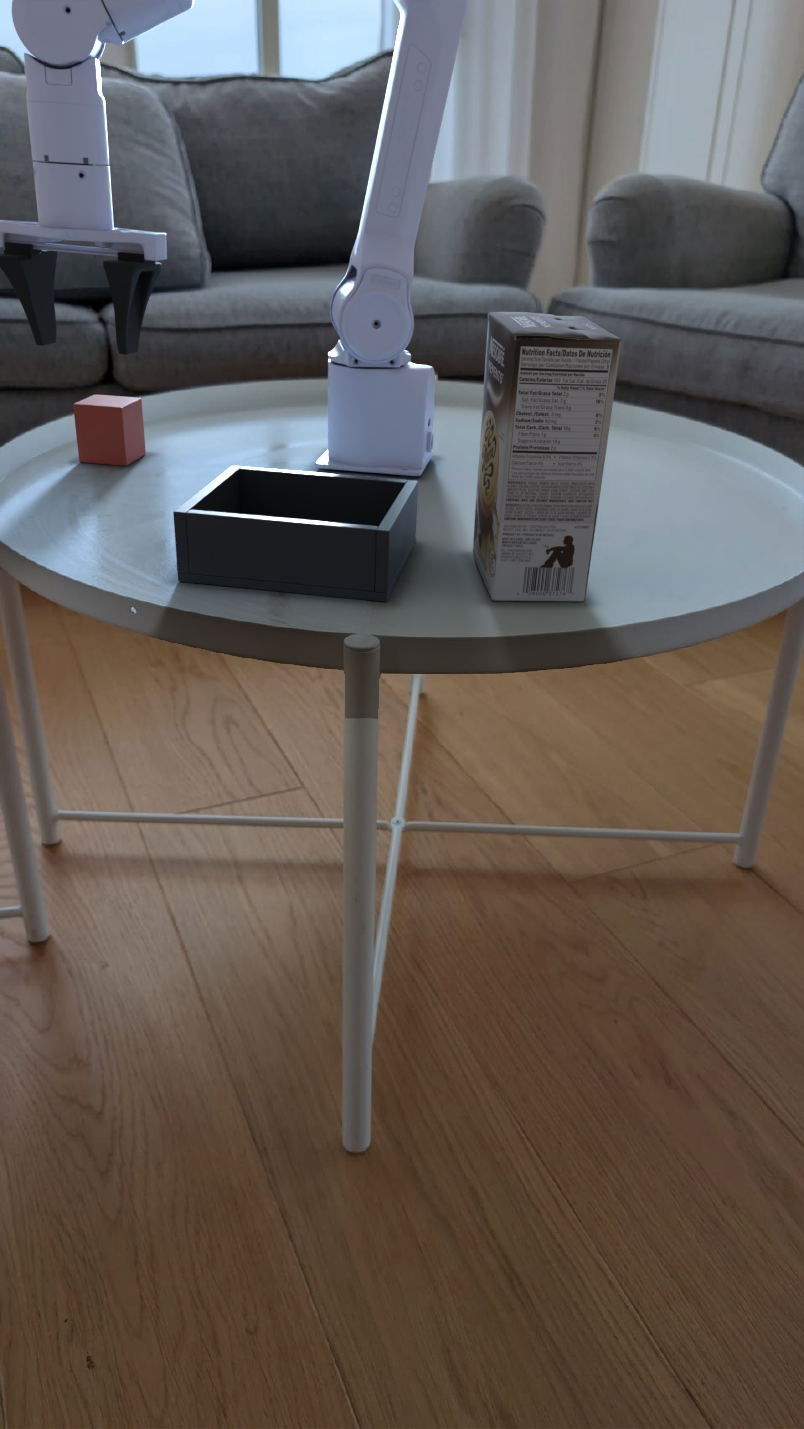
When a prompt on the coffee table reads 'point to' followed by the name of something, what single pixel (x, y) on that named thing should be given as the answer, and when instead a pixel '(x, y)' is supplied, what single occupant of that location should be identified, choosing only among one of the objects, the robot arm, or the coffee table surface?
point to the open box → (298, 532)
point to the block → (109, 429)
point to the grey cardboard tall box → (542, 453)
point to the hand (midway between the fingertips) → (87, 348)
